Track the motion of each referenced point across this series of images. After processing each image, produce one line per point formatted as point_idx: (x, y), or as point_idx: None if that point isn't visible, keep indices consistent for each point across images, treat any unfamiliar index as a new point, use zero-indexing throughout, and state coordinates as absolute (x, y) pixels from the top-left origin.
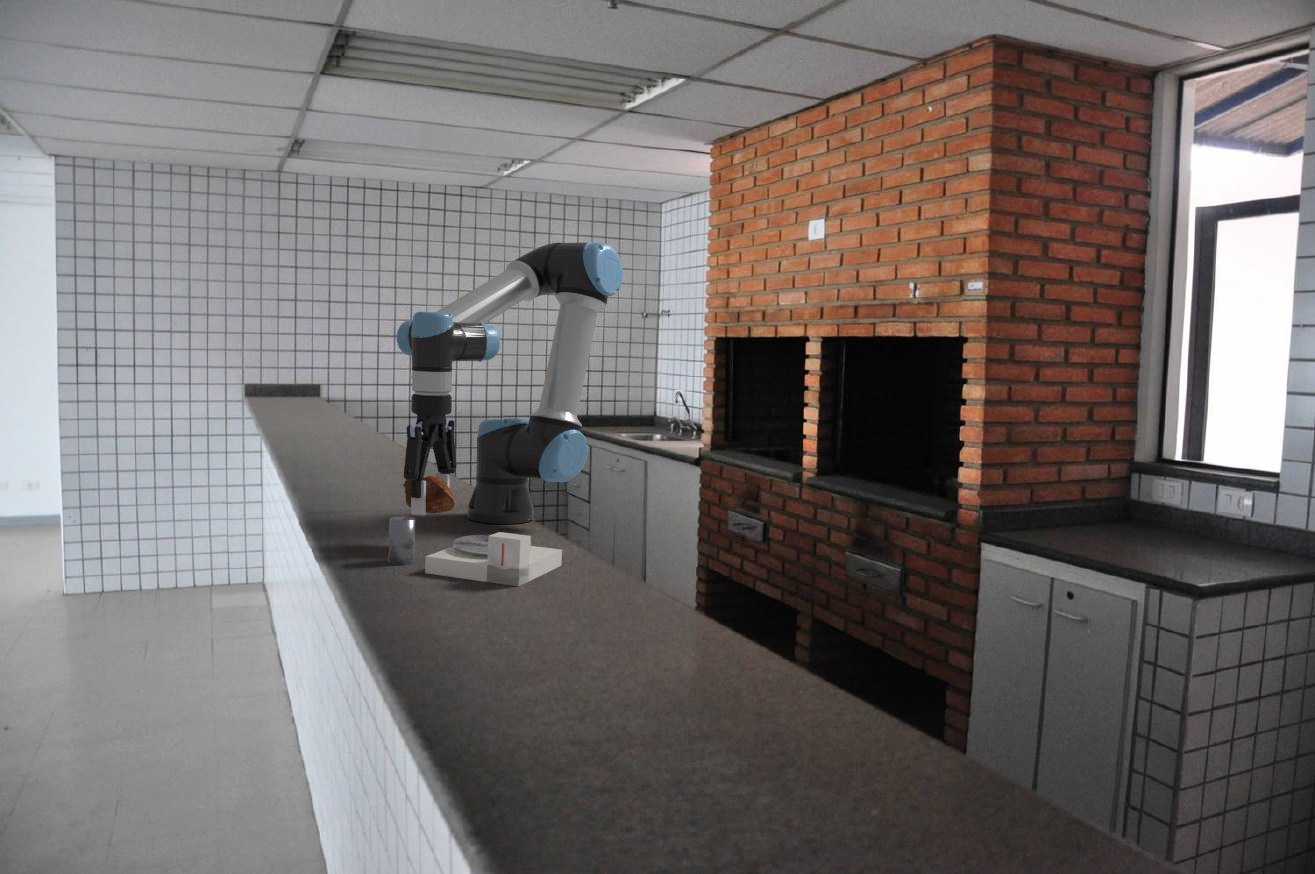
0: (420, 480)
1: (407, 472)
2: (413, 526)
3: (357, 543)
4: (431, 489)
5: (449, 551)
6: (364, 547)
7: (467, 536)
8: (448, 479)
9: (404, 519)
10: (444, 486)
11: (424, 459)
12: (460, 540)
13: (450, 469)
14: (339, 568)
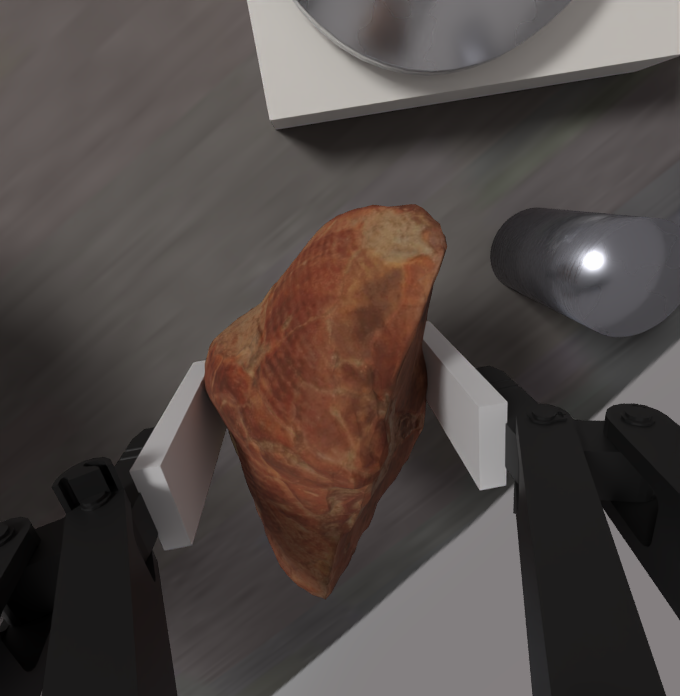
0: (551, 405)
1: (653, 496)
2: (622, 216)
3: (396, 491)
4: (406, 371)
5: (562, 30)
6: (425, 449)
7: (401, 55)
8: (158, 444)
9: (647, 263)
10: (359, 315)
11: (610, 543)
12: (503, 15)
13: (94, 503)
14: (676, 326)
